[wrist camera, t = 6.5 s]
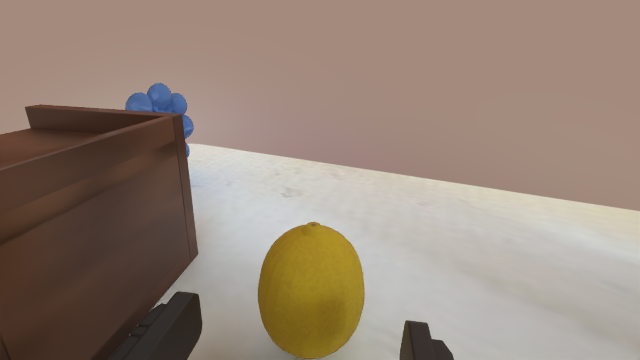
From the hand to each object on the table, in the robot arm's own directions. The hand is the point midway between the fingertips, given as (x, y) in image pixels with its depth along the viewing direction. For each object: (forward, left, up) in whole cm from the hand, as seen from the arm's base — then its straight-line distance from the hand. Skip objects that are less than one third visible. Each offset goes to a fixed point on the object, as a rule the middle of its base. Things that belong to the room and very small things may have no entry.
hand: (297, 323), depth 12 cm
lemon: (-4, -2, -6) cm, 7 cm away
